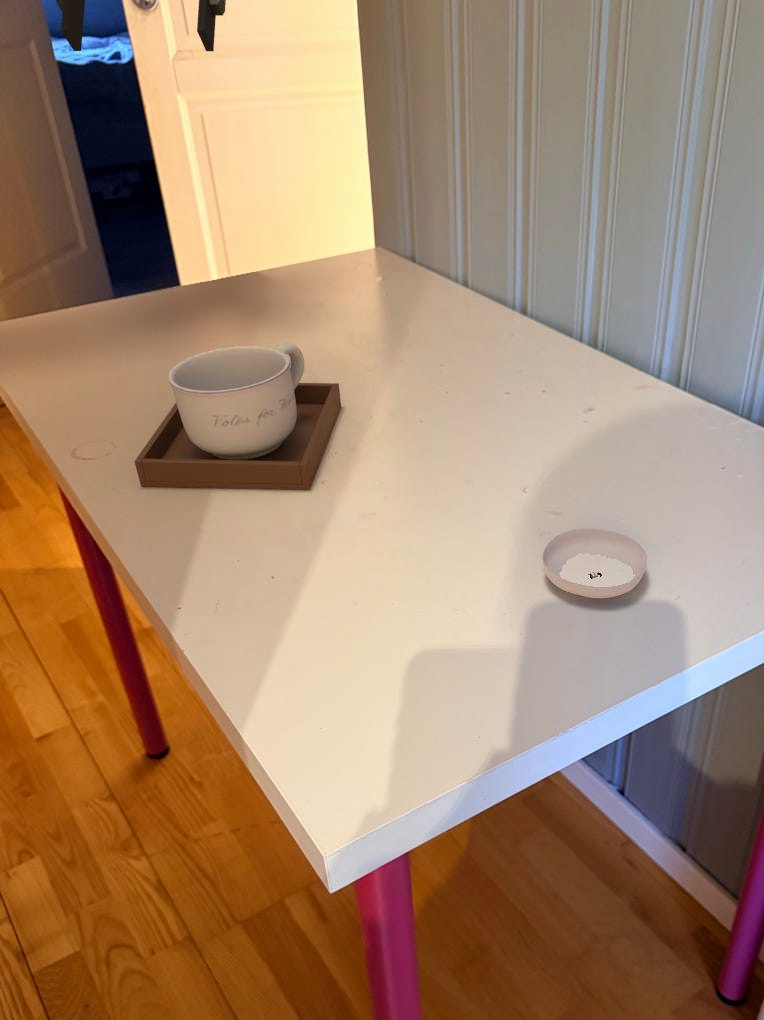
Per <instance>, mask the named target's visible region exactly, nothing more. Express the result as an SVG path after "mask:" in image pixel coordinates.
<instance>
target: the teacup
mask: <svg viewBox="0 0 764 1020" xmlns="http://www.w3.org/2000/svg"><path fill="white" fill-rule="evenodd" d="M304 372H305V358H304V354H303V353H302V350H301V349H300V348H299V347H298V346H297V345H295V344H294V343H291V342H282V343H279V344H277V345H276V346H275V347H269V346H262V345H236V346H235V345H233V346H228V347H226V346H225V347H220V348H215V349H211V350H207V351H204V352H200V353H196V354H195V355H192V356H189V357H187V358H185V359H183V360H181V361H180V362H177V364H176V365H174V366H173V367H172V368H171V369H170V371H169V372H168V375H167V380H168V383H169V384H170V386H171V388H172V391H173V395H174V399H175V403H177V407H178V410H179V413H180V416H181V419H182V423H183V426H184V428H185V430H186V433H187V435H188V437H189V438H190V440H191V441H192V442H193V443H194V444H195V445H196V446H198V447H199V448H200V449H202V450H204V451H206V452H209V453H211V454H212V455H214V456H216V457H218V458H222V459H226V460H248V459H253V458H257V457H261V456H264V455H266V454H268V453H270V452H272V451H274V450H276V449H277V448H278V447H279V446H280V445H281V444H282V443H283V441H284V440H285V439H286V438H287V437H288V436H289V435H290V433H291V432H292V430H293V429H294V426H295V424H296V419H297V410H296V400H295V394H294V390H295V388H296V387H297V385H298V384H299V383H301V380H302V378H303V374H304Z"/></svg>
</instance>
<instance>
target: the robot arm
mask: <svg viewBox="0 0 764 1020" xmlns="http://www.w3.org/2000/svg"><path fill="white" fill-rule="evenodd" d="M226 1H227V0H198V9H197V10H198V11H197V24H196V32H197V34H198V37H199V38H200V41H201V43H202V45H203V47H204V50H205V52H214V49H215V35H216V19H217V16H219V17H220V16H221V17H223V16H224V14H225V12H226V3H227V2H226ZM55 2H56V5H57V7H58V8H59V10H60V12H61V25H60V32H61V34H62V35H63V37H64V38H65V39H66V41H67V43H68V44H69V46H70V47H71V49H72V51H73V52H82V45H83V33H84V20H85V9H86V8H85V7H86V0H55Z"/></svg>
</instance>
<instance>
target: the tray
mask: <svg viewBox="0 0 764 1020" xmlns="http://www.w3.org/2000/svg"><path fill="white" fill-rule="evenodd" d="M294 394H295V400H296V410H297V419H296V424H295V426H294V429H293V430H292V432H291V433H290V435H289V436H288V437H287V438H286V439H285V440H284V441H283V443H282V444H281V445H280V446H279V447H278V448H277V449H276V450H274V451H272V452H270V453H268V454H266V455H264V456H261V457H257V458H253V459H248V460H226V459H222V458H218V457H216V456H214V455H212V454H211V453H209V452H206V451H204V450H202V449H200V448H199V447H198V446H196V445H195V444H194V443H193V442H192V441H191V440H190V438H189V437H188V435H187V433H186V430H185V428H184V426H183V423H182V419H181V416H180V413H179V410H178V407H177V403H176V402H175V403H174V405H173V406H172V407H171V409H170V410H169V412H168V413H167V415H166V416H165V417H164V419H163V420H162V422H161V423H160V424H159V426H158V427H157V429H155V432H154V433H153V434H152V436H151V437H150V438H149V440H148V441H147V443H146V444H145V446H144V447H143V449H142V450H141V451H140V453H138V455H137V457H136V458H135V460H134V466H135V469H136V473H137V476H138V480H139V484H140V486H141V487H156V488H157V487H158V488H159V487H162V488H205V489H206V488H212V489H220V488H221V489H252V490H253V489H254V490H255V489H258V490H260V489H262V490H263V489H264V490H306V491H307V490H311V488H312V485H313V482H314V480H315V476H316V474H317V471H318V468H319V466H320V463H321V460H322V458H323V455H324V453H325V450H326V447H327V444H328V442H329V439H330V436H331V434H332V431H333V429H334V427H335V423H336V421H337V418H338V416H339V413H340V410H341V407H342V401H341V392H340V384H339V382H337V383H336V382H335V383H332V382H331V383H329V382H299V384H298V385H297V387H296V388H295V390H294Z"/></svg>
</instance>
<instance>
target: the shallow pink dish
mask: <svg viewBox="0 0 764 1020" xmlns="http://www.w3.org/2000/svg"><path fill="white" fill-rule="evenodd" d="M579 553H582V554H586V553H589V555H598V554H600V556H601V557H603V556H606V558H610V559H617V560H619V561H621V562H622V563H624V564H625V563H626V564H627V566H631V568H632V570H633V575H634V574H635V576H634V578H633V579H632V580H631V581H630V582H628V583H625V584H622V585H618V586H612V587H593V586H586V585H581V584H577V583H573V582H570V581H567V580H565V579H562V578H561V577H560V574H559V573H560V572H561V571H562V566H563V565H565V564H566V562H567V560H568V559H569V560H570V559H571V558H573V557H575V556H576V555H577V554H579ZM647 562H648V556H647V552H646V550H645V549H644V547H643V546H642V545H641V544H640V543H639V542H637V541H636V540H634V539H633V538H630V537H629V536H626V535H624V534H621V533H618V532H616V531H615V532H614V531H610V530H605V529H599V528H577V529H571V530H567V531H565V532H561V533H560V534H558V535H556V536H555V537H553V538H552V539H551V540H550V541H549V542H548V543H547V544H546V546H545V548H544V550H543V552H542V568H543V571H544V574H545V575H546V576H547V578H548V580H549V581H550V582H551V583H552V584H553V585H554V586H556V587H557V588H559V589H560V590H563V591H565V592H568V593H570V594H572V595H573V594H574V595H576V596H580V597H581V596H582V597H585V598H591V599H607V598H608V599H609V598H614V597H617V596H622V595H624V594H626V593H628V592H630V591H631V590H633V589H635V587H636V586H637V585H638V584H639V582H640V581H641V580H642V578H643V576H644V575H645V571H646V568H647V564H648V563H647ZM588 575H590V578H591V579H593V578H596V577H598V575H600V577H601V576H602V574H601V573H599V572H598V573H596V572H592V573H590V574H588Z"/></svg>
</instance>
